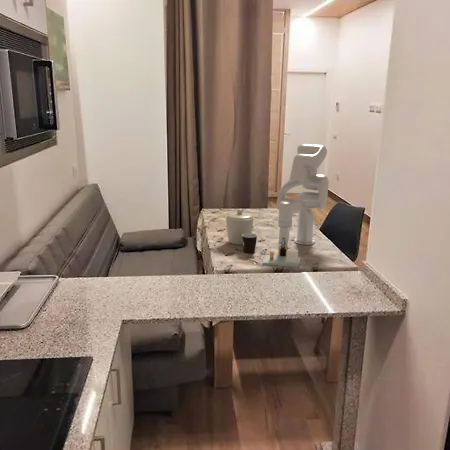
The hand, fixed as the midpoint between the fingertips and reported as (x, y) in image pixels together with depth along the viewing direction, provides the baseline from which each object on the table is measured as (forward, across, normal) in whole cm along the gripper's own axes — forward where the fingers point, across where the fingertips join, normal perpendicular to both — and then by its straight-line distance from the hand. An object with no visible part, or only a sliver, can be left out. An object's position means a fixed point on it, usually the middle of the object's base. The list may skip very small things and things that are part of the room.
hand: (283, 253), depth 252 cm
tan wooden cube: (+1, 0, 0) cm, 1 cm away
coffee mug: (+2, -3, -20) cm, 20 cm away
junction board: (+2, +11, 0) cm, 11 cm away
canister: (+2, -18, -29) cm, 34 cm away
